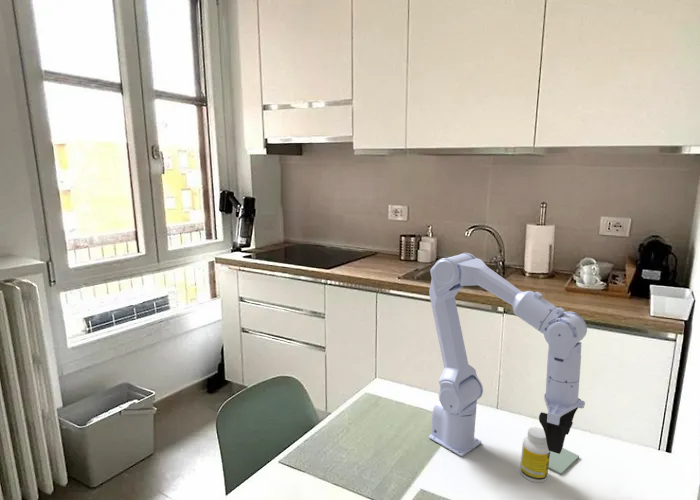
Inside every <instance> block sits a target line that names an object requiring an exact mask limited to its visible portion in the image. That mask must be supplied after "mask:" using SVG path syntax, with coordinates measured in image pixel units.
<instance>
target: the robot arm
mask: <svg viewBox="0 0 700 500" xmlns="http://www.w3.org/2000/svg"><path fill="white" fill-rule="evenodd" d="M429 272H430V276H431V280H430V281H431V282H430V285H429V292H428V293H429V299H430V305H431V310H432V314H433V319H434V324H435V330H436V333H437V334H436V335H437V338H438V344H439V349H440V354H441V358H442V362H443V363H442V364H443V371H442V372H441V375H440V377H439V380H438V381H439V382H438V384H439V391H438V400H437V401H436V403H435V404H434V406H433V409H432V414H431V415H432V417H431V428H430V431H431V432H430V434H429V435H428V438H429V439H430V440H432V441H433V442H434V443H435V442H436V443H437V444H439V445H441V446H442V447H444V448H445V449H447V450H450V451H451V452H453V453H455V455H458V456H459V457H464V456H465V455H467V454H468V453H469V452H471V451H472V450H474V449H475V448H477V447H478V446H479V445H481V444H482V440H481V439H479V438H477V437H475V433H476V432H475V430H476V417H477V416H476V415H477V403H478V400H479V399H480V398H481V397H482V396H483V393H484V387H483V384H482V382H481V380H480V378H479V377H478V374H477V371H476V368H474V367H473V366H471V365H470V364H469V361H468V357H467V352H466V347H465V340H464V337H463V336H464V335H463V331H462V327H461V321H460V317H459V311H458V307H457V302H456V296H457V294H458V293H459V292H460V291H461V290H462V288H463V287H467V286H468V287H469V286H472V287H473V286H479V287H480V288H481V289H482V288H483V289H484V290H485V291H487V292H489V293H490V294H492V295H494V296H495V297H498V299H501V300H503V301H504V302H506V303H507V304H509V305H511V307H512V311H513V315H515V316H516V317H518V318H520V319H521V320H522V321H524V322H525V323H526V324H528V325H530V326H532V328H534V329H536V330H537V331H539V332H540V333H541V334H543V336H544V339H545V342H546V343H547V344H548V349H547V366H546V379H545V381H546V382H545V393H544V394H543V395H544V396H543V398H544V403H545V406H546V409H547V412H540V413H539V415H538V421H539V423H540V425H541V428H542V429H544V432H545V436H546V441H547V446H548V450H549V451H552V452H555V453H558V454H560V453H561V450H562V448H563V447H564V443H565V438H566V435H569V433H570V431H571V428H572V426H573V424H574V422H573V421H574V420H573V419H574V417H575V414H576V412H577V410H578V409H584V408H585V405H586V401H584V400H582V399H580V398H579V390H580V378H581V377H580V376H581V375H580V374H581V364H582V363H581V362H582V342H581V341H582V340H583V339H584V338H585V337H586V335H587V332H588V326H587V323H586V321H585V320H584V319H583V317H581V316H580V315H579V314H578V313H577V312H574V311H566V310H565V309H564V308H563V307H558V306H555V304H553V303H551V302H549V301H548V300H547V299H545V298H544V297H543V296H544V295H543V294H542V293H541V292H539V291H532V290H526V291H522V290H520V289H519V288H518V287H516V286H515V285H513V283H511V282H509V281H508V280H507V279H506V278H504V277H502V276H501V275H500V274H498V273H497V272H495V271H494V270H493V269H491V268H490V267H489V266H487V265H486V263H485V262H484V261H483V260H482V259H480V258H478V257H476V256H475V255H474V254H472V253H469V252H463V253H459V254H456V255H453V256H450V257H443V258H440V259H438V260H437V261H436V262H435V263H434V265H433V266H432V267H431V268H430V270H429Z"/></svg>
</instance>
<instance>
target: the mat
mask: <svg viewBox="0 0 700 500" xmlns="http://www.w3.org/2000/svg"><path fill="white" fill-rule="evenodd" d="M579 458H580V455H578V454H576V453H575V452H572V451H570V450H568V449H566V448H563V447H562V450H561V453H560V454H558V453H555V452H552V451H550V458H549V467H548V471H549V470H550V471H552V472H553V473H555V474H557V475H559V476H562V475H563V474H564V473H565V472H566V471H567V470H568V469H569V468H570V467H571V466H573V464H574V463H575V462H577V461H578V460H579Z"/></svg>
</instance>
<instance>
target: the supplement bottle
mask: <svg viewBox="0 0 700 500" xmlns="http://www.w3.org/2000/svg"><path fill="white" fill-rule="evenodd" d="M526 435H527V436H525V438H523V441H522V447H521V457H520V464H519V465H520V466H519V471H520V474H521V476H522V477H524V478H525V479H527V480H529V481H531V482H535V483H542V482H545V481H546V479H547V478H548V475H549V469H548V467H549V458H550V451H549V450H548V446H547V441H546V436H545V432H544V429H543V427H538V426H531V427H529V428H528V430H527V434H526Z"/></svg>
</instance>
